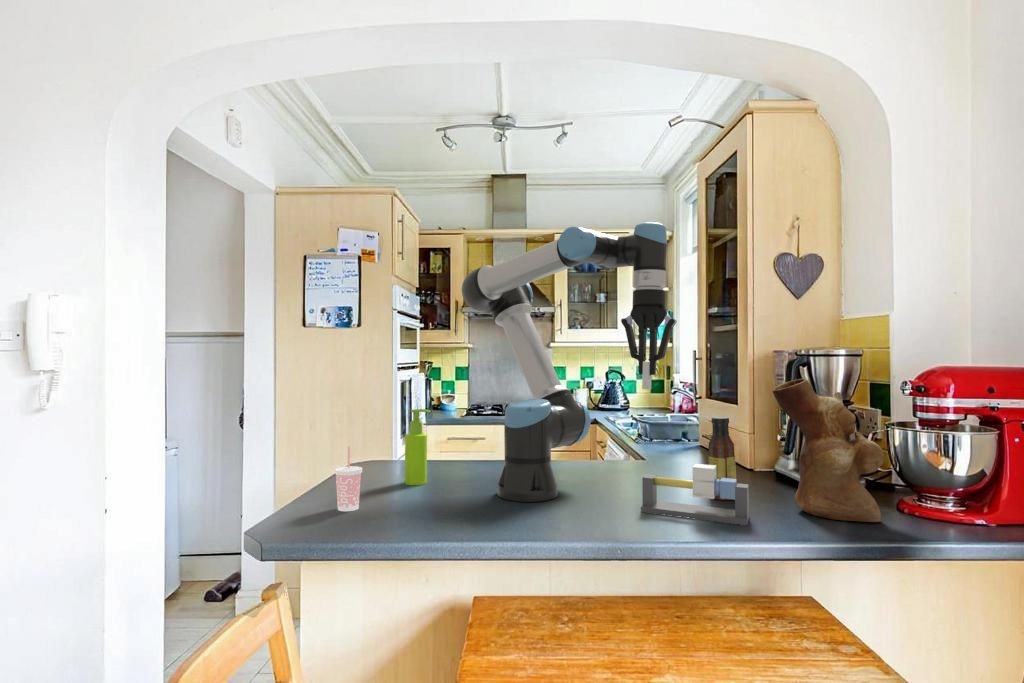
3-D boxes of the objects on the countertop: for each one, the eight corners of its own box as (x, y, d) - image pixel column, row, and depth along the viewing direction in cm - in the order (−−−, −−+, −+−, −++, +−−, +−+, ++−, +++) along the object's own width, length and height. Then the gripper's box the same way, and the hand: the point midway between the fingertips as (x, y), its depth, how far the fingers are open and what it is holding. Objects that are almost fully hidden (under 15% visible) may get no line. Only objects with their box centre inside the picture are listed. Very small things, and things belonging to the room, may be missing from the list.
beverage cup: (328, 510, 127) (329, 447, 127) (345, 503, 133) (345, 443, 133) (351, 513, 125) (352, 449, 125) (367, 506, 130) (368, 445, 131)
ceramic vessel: (895, 528, 116) (894, 381, 116) (780, 520, 121) (779, 379, 122) (867, 507, 131) (866, 378, 132) (765, 501, 136) (764, 376, 137)
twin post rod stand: (640, 512, 127) (640, 474, 127) (647, 504, 133) (647, 469, 133) (746, 525, 117) (746, 485, 117) (749, 517, 123) (749, 478, 123)
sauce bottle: (732, 495, 142) (732, 415, 143) (740, 501, 136) (739, 418, 136) (705, 494, 143) (705, 415, 143) (711, 501, 137) (711, 418, 137)
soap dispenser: (428, 485, 151) (429, 410, 152) (402, 485, 151) (403, 410, 152) (432, 480, 157) (432, 408, 158) (407, 480, 157) (407, 408, 158)
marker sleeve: (692, 496, 123) (692, 467, 123) (695, 492, 127) (695, 463, 127) (714, 499, 121) (713, 468, 121) (716, 494, 125) (716, 465, 125)
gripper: (617, 288, 134) (615, 388, 134) (673, 287, 128) (671, 391, 128) (626, 291, 141) (624, 386, 141) (680, 290, 135) (678, 389, 135)
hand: (646, 388), depth 134 cm, fingers closed
